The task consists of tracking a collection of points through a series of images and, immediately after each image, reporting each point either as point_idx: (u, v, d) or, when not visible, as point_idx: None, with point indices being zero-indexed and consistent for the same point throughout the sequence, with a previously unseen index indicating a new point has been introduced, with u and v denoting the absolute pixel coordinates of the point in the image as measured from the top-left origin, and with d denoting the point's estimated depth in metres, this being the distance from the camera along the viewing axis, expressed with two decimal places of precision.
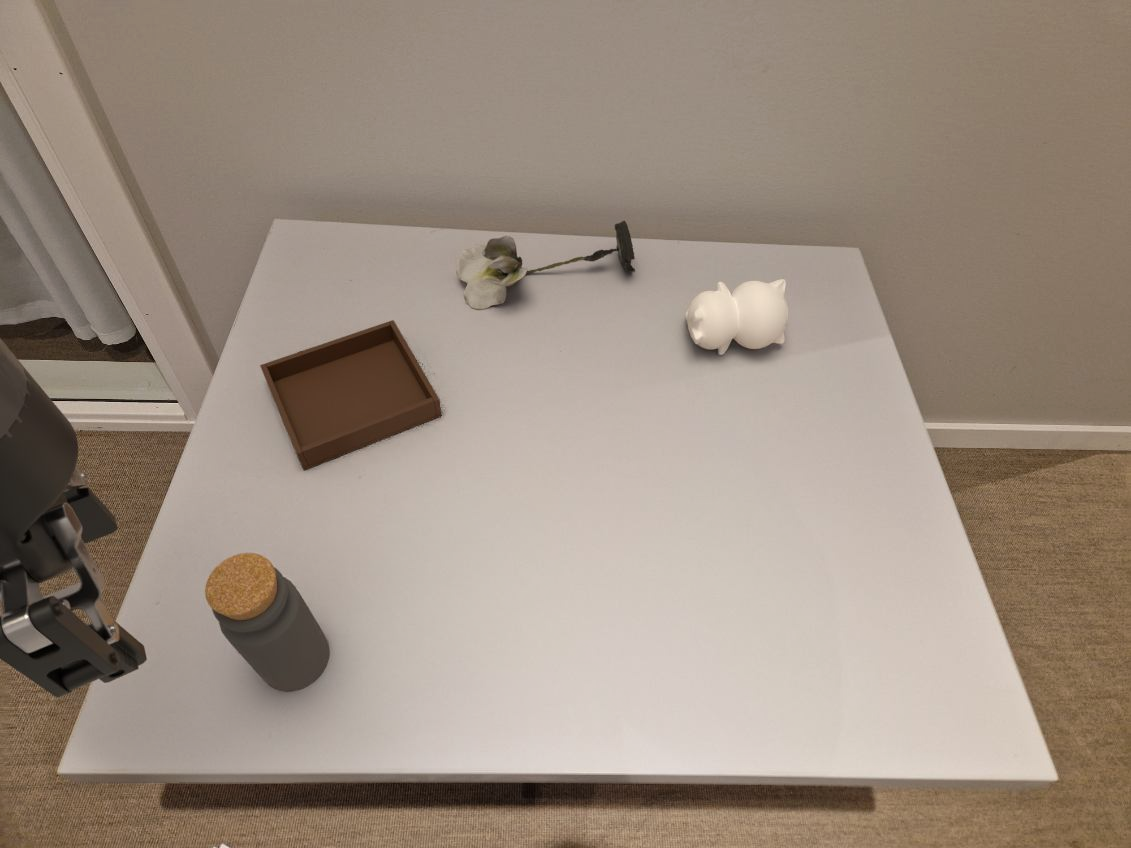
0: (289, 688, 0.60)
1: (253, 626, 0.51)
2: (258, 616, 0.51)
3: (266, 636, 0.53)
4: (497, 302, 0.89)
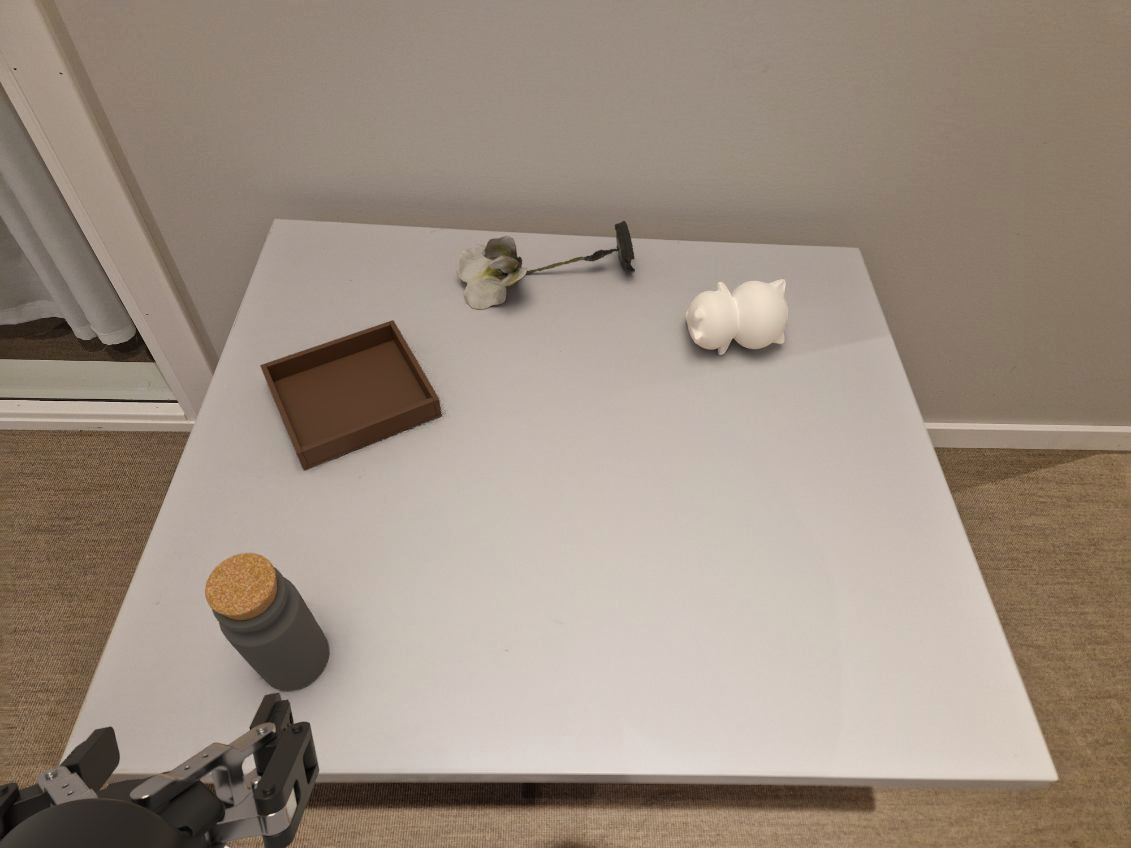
0: (289, 688, 0.60)
1: (253, 626, 0.51)
2: (257, 616, 0.51)
3: (266, 636, 0.53)
4: (497, 302, 0.89)
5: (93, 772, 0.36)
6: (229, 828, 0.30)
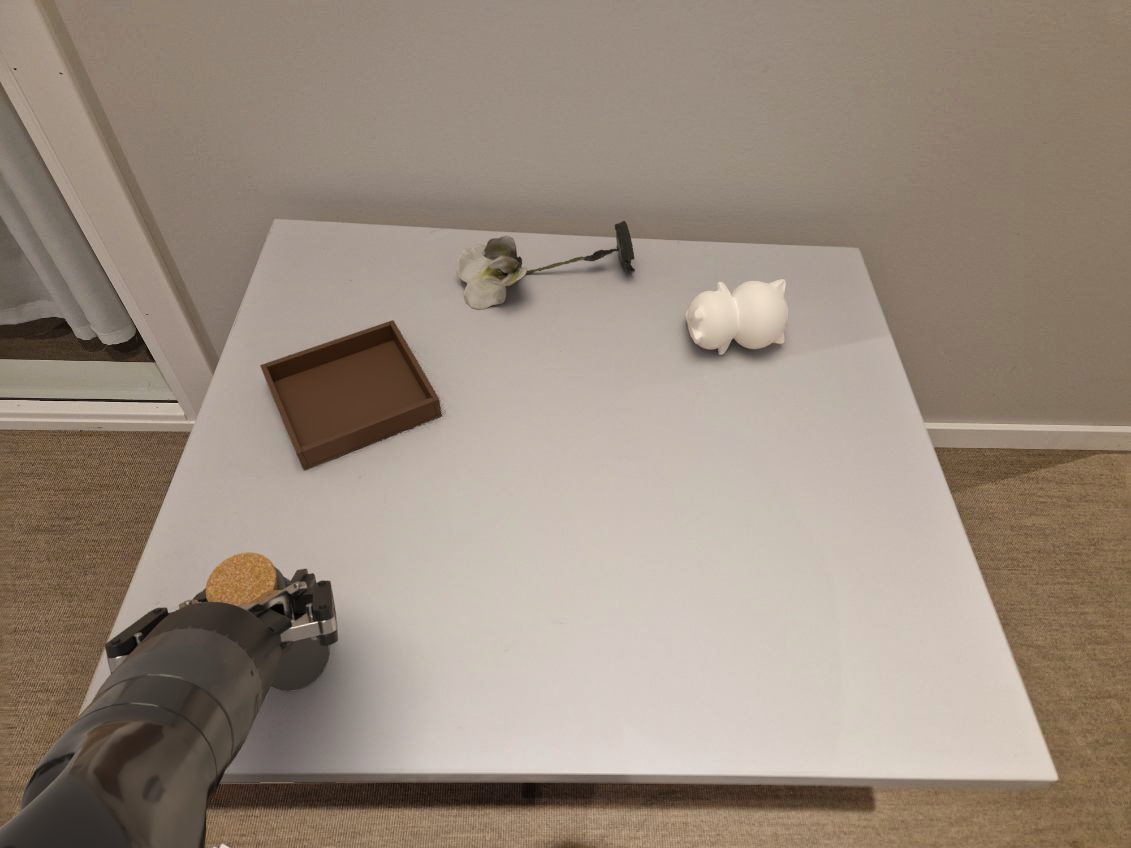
0: (289, 688, 0.60)
1: None
2: None
3: None
4: (497, 302, 0.89)
5: None
6: (298, 631, 0.46)
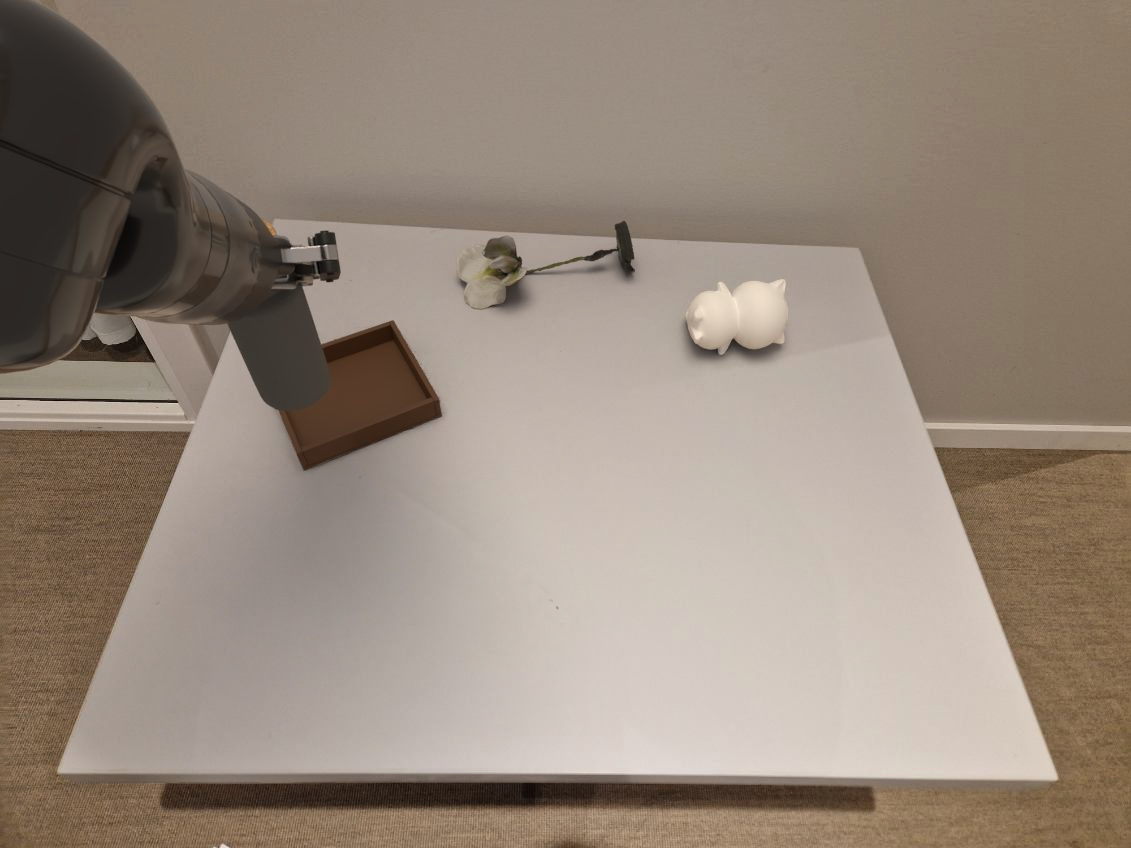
0: (289, 405, 0.58)
1: None
2: None
3: (266, 307, 0.51)
4: (497, 302, 0.89)
5: None
6: (299, 252, 0.44)
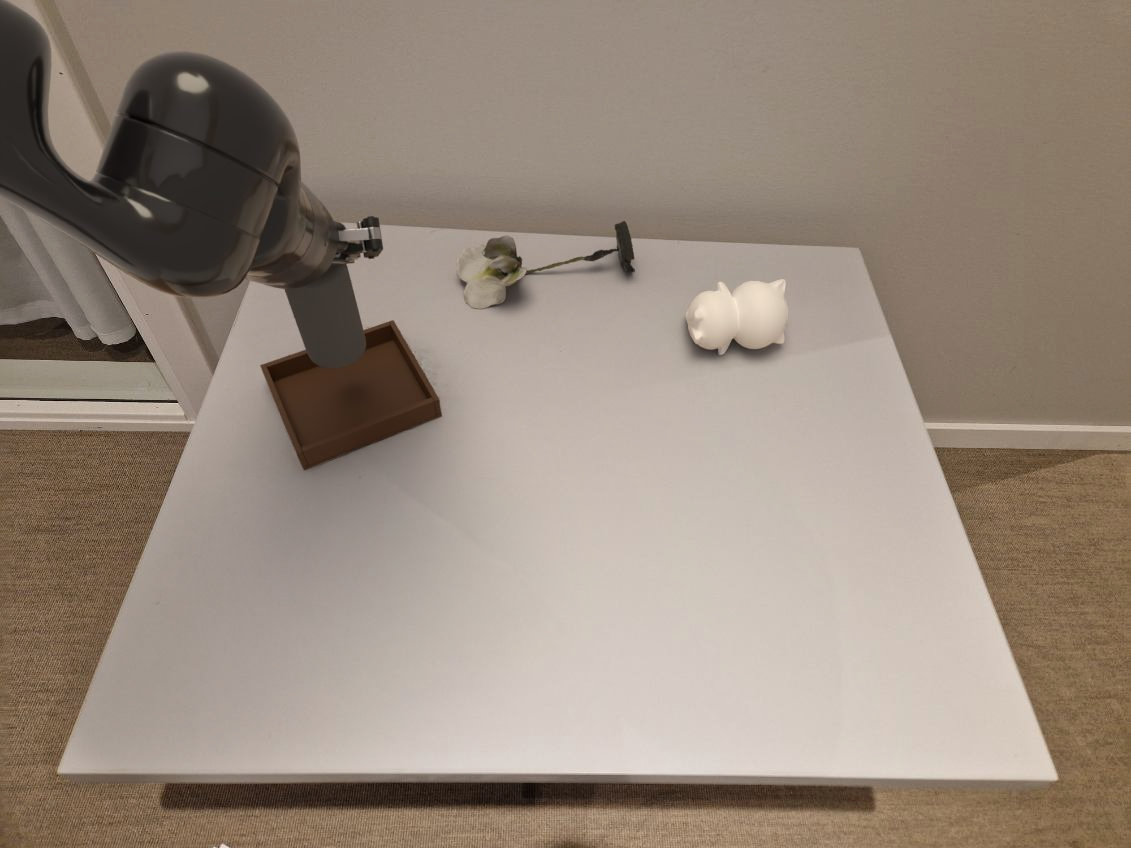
0: (333, 363, 0.71)
1: None
2: None
3: (320, 279, 0.63)
4: (496, 302, 0.89)
5: None
6: (351, 233, 0.56)
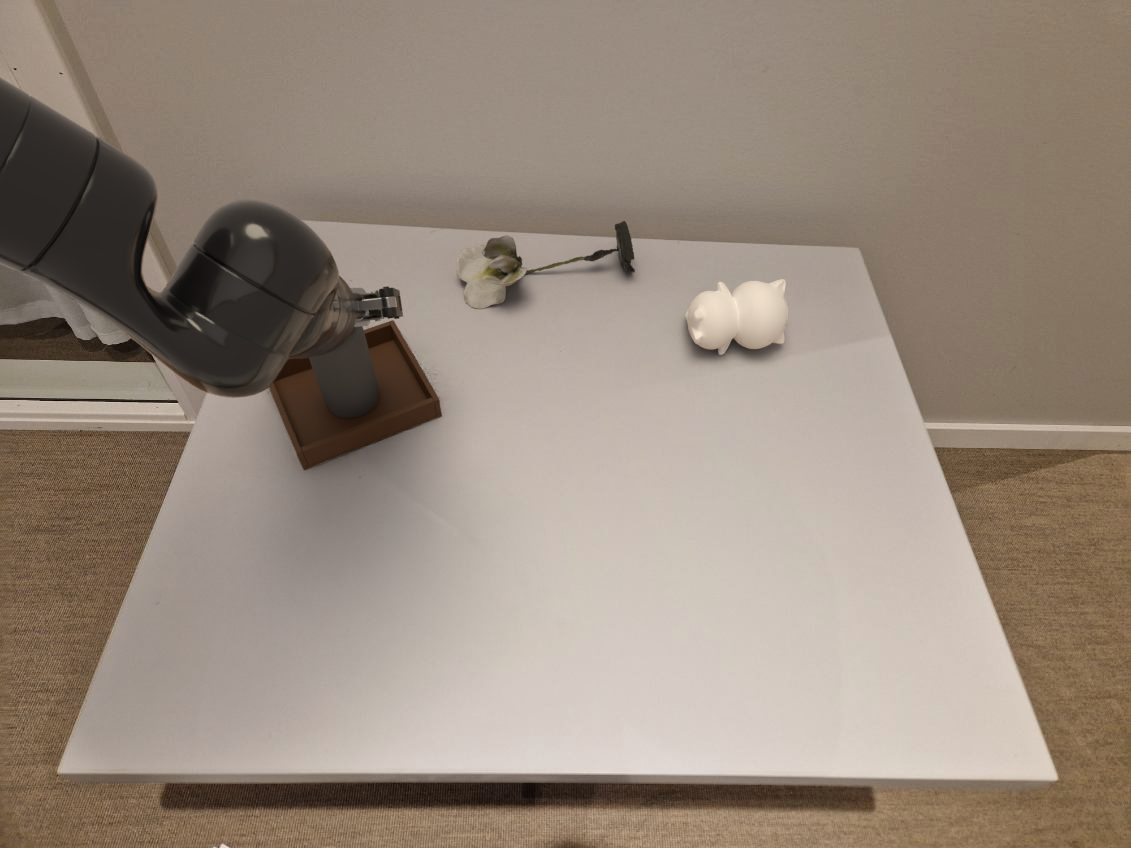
0: (350, 413, 0.77)
1: None
2: None
3: None
4: (496, 302, 0.89)
5: None
6: (367, 303, 0.62)
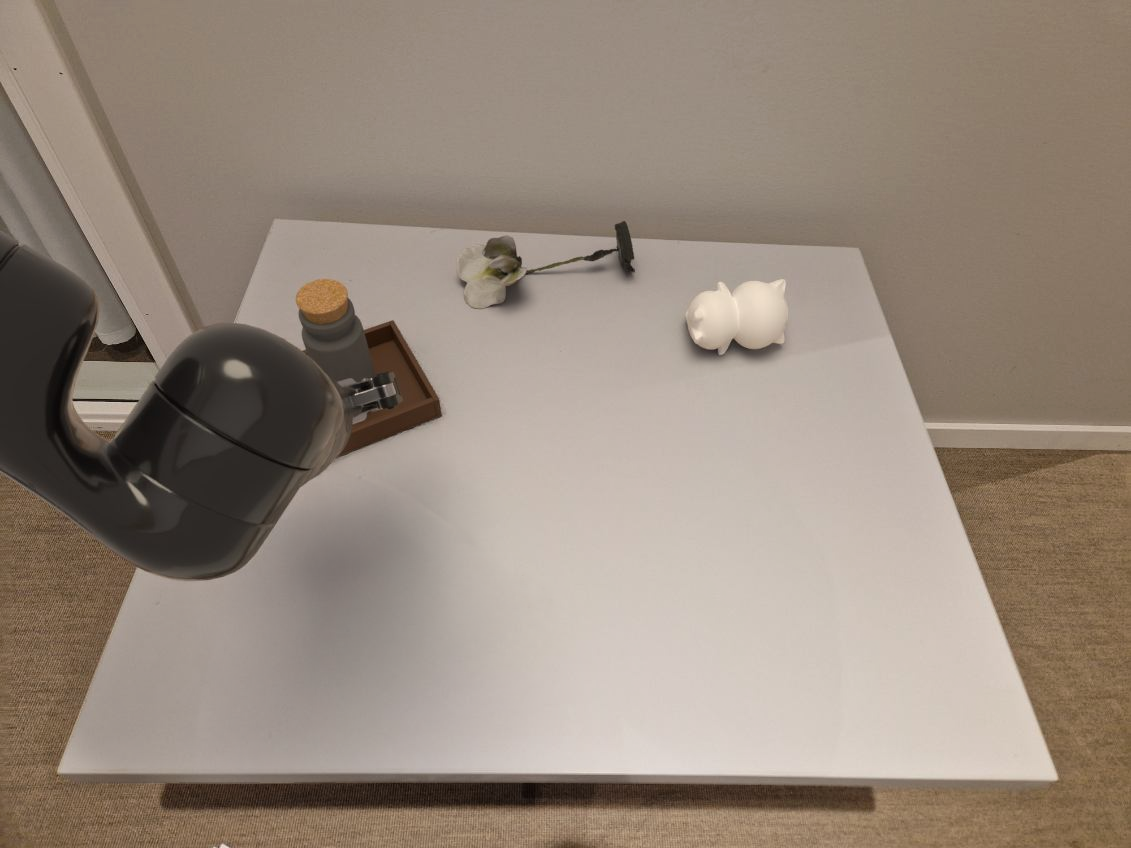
0: None
1: (331, 329, 0.68)
2: (334, 322, 0.68)
3: (339, 344, 0.69)
4: (496, 302, 0.89)
5: None
6: (362, 396, 0.53)
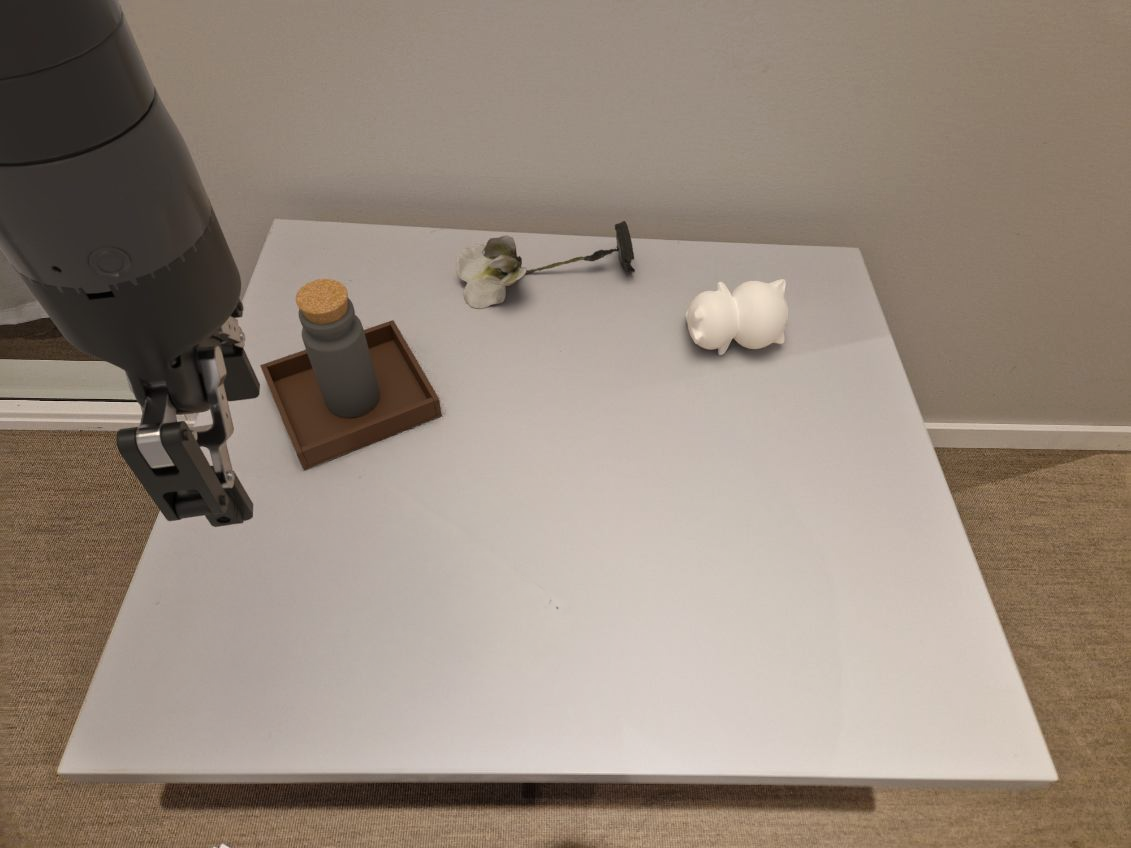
0: (350, 413, 0.77)
1: (331, 329, 0.68)
2: (334, 322, 0.68)
3: (339, 344, 0.69)
4: (496, 302, 0.89)
5: None
6: None
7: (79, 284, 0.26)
